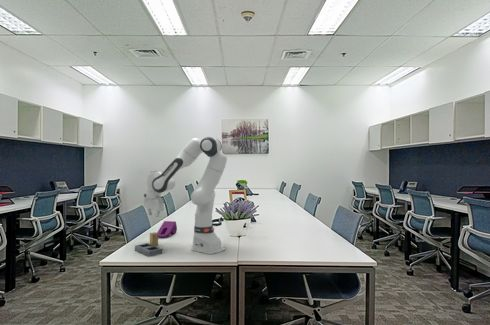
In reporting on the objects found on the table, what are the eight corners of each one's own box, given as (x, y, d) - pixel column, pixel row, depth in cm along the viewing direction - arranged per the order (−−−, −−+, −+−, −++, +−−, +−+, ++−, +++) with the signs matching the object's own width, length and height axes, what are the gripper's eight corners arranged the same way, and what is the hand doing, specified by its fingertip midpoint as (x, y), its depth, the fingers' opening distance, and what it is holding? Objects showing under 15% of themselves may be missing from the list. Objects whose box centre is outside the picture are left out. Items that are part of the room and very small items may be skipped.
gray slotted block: (162, 253, 186) (162, 248, 186) (148, 256, 180) (148, 251, 180) (148, 247, 199) (148, 242, 199) (134, 250, 192) (134, 245, 192)
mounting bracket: (169, 245, 225) (177, 230, 241) (167, 236, 222) (175, 221, 238) (157, 245, 227) (166, 229, 243) (154, 236, 223) (164, 221, 239)
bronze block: (158, 245, 205) (158, 233, 205) (152, 246, 202) (152, 234, 202) (155, 244, 208) (155, 232, 208) (149, 245, 205) (149, 233, 205)
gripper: (166, 196, 200) (166, 217, 200) (150, 193, 214) (150, 213, 214) (157, 197, 195) (157, 218, 195) (142, 194, 210) (142, 214, 210)
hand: (153, 215), depth 205 cm, fingers open, 8 cm apart
